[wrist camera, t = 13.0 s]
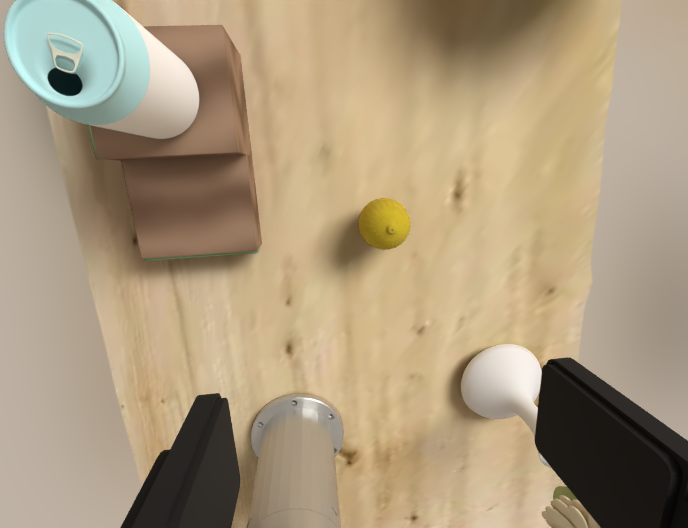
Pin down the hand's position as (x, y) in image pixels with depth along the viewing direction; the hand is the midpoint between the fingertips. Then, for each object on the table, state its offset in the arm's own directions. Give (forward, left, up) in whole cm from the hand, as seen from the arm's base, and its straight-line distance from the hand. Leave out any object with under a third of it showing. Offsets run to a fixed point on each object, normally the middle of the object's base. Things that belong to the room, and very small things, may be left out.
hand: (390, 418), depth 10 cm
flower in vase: (-23, -22, -34) cm, 46 cm away
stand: (+9, +14, -33) cm, 37 cm away
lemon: (+1, -6, -34) cm, 34 cm away
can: (+14, +14, -26) cm, 32 cm away
